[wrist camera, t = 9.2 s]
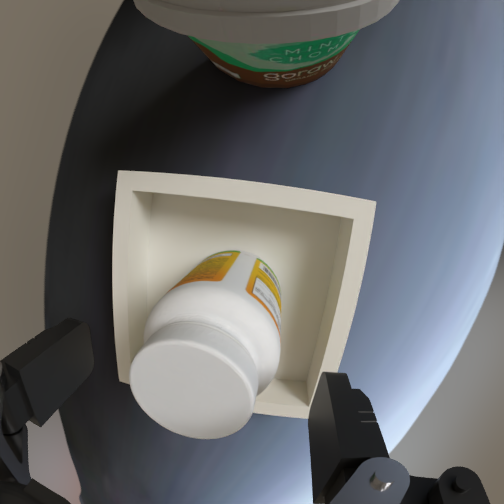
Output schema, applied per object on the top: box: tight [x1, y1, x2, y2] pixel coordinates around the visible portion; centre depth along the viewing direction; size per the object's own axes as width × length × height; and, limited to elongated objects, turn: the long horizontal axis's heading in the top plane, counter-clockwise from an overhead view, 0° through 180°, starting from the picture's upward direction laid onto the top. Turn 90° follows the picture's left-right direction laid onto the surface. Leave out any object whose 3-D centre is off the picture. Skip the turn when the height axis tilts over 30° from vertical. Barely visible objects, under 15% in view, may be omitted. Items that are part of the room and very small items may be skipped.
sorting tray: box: [112, 170, 376, 419], centre depth 16 cm, size 13×13×4 cm
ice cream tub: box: [133, 0, 399, 88], centre depth 10 cm, size 12×6×10 cm, turn 122°
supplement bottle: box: [129, 250, 282, 439], centre depth 13 cm, size 5×5×10 cm
